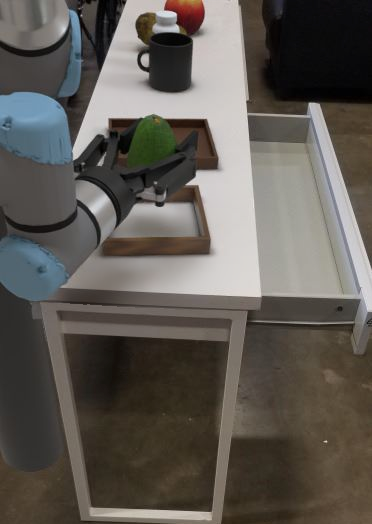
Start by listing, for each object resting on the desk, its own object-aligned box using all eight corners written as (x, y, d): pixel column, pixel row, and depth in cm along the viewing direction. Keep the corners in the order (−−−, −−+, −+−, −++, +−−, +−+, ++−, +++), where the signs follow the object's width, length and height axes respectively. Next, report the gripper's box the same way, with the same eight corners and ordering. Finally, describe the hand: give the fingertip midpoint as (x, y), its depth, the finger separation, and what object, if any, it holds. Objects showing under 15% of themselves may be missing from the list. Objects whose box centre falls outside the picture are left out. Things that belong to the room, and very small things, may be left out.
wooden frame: (104, 255, 84) (103, 240, 82) (103, 199, 95) (102, 185, 93) (209, 253, 86) (211, 239, 84) (197, 198, 96) (198, 184, 94)
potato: (188, 56, 141) (189, 19, 136) (135, 54, 140) (135, 17, 134) (186, 44, 147) (187, 8, 141) (135, 43, 146) (134, 6, 140)
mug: (137, 75, 132) (136, 30, 125) (189, 76, 132) (191, 32, 126) (137, 91, 125) (136, 45, 119) (192, 93, 126) (194, 47, 119)
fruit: (155, 28, 155) (156, -16, 147) (189, 23, 159) (191, -20, 152) (177, 40, 149) (178, -5, 141) (211, 35, 153) (215, -10, 146)
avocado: (126, 208, 84) (124, 126, 75) (128, 181, 89) (126, 101, 80) (181, 210, 84) (185, 128, 75) (180, 183, 89) (184, 103, 81)
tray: (110, 169, 101) (109, 158, 100) (108, 128, 112) (108, 118, 111) (217, 169, 103) (218, 157, 102) (206, 129, 114) (207, 118, 113)
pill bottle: (179, 72, 134) (181, 18, 126) (152, 72, 133) (152, 17, 125) (177, 63, 138) (179, 9, 130) (151, 62, 137) (151, 9, 129)
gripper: (23, 213, 75) (107, 142, 89) (167, 256, 70) (232, 174, 84) (13, 158, 69) (104, 91, 84) (169, 201, 65) (238, 123, 79)
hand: (168, 133), depth 84 cm, fingers closed on avocado, 8 cm apart
